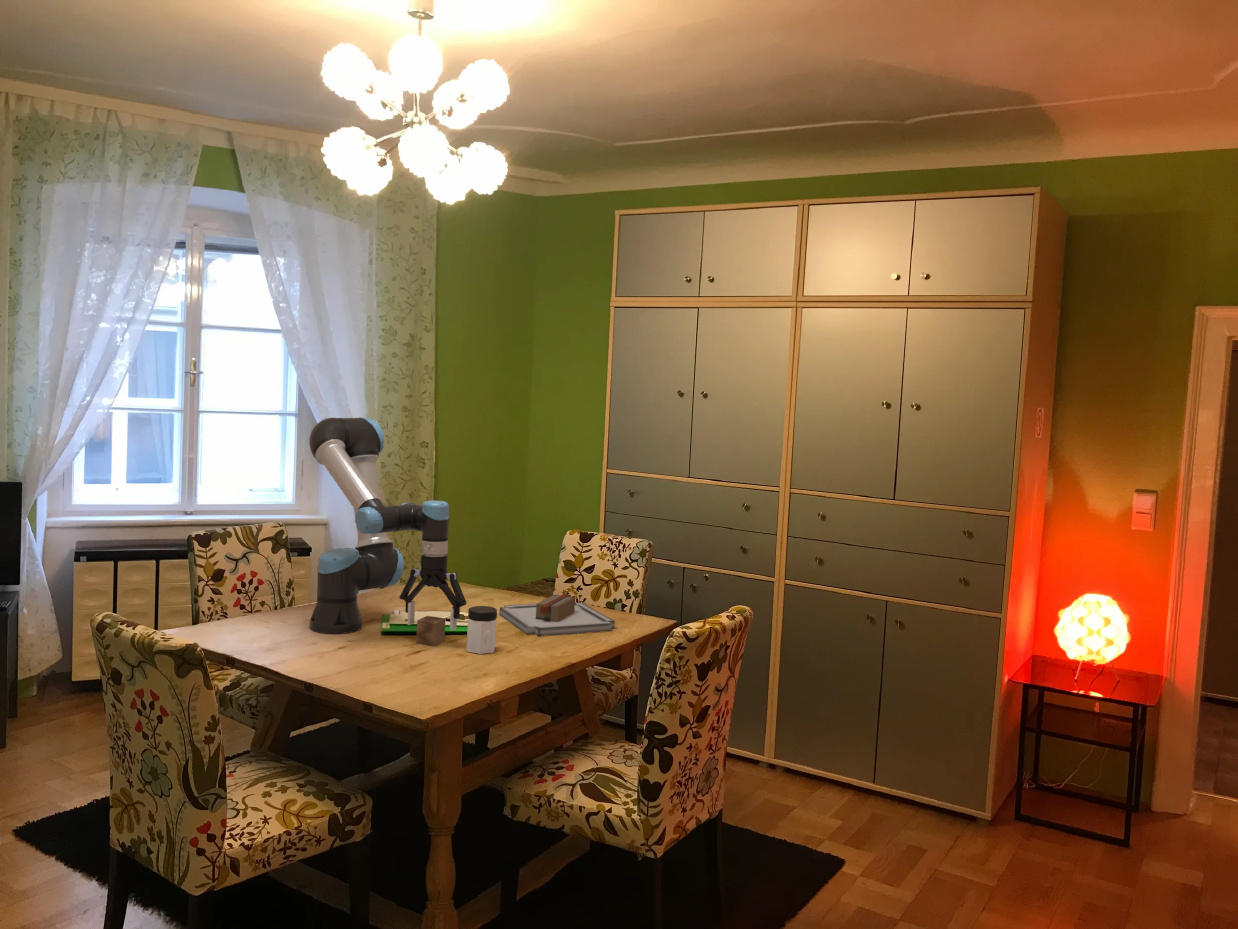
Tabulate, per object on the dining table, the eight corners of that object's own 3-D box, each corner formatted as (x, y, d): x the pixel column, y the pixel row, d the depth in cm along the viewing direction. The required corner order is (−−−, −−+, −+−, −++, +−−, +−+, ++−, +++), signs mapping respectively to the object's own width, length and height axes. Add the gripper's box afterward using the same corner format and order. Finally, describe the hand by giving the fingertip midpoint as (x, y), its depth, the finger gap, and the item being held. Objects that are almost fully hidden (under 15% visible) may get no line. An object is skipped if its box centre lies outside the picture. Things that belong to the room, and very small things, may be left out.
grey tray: (617, 632, 313) (619, 609, 312) (530, 639, 300) (531, 614, 299) (578, 610, 340) (580, 588, 339) (496, 614, 326) (497, 592, 325)
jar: (472, 655, 277) (474, 613, 276) (460, 648, 283) (462, 607, 282) (501, 652, 282) (503, 611, 281) (488, 644, 288) (490, 604, 287)
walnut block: (416, 644, 285) (417, 620, 284) (426, 639, 291) (427, 615, 290) (434, 646, 283) (436, 623, 283) (444, 641, 289) (445, 618, 288)
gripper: (389, 552, 284) (387, 624, 286) (468, 560, 278) (465, 634, 279) (402, 548, 292) (399, 619, 293) (479, 556, 285) (476, 628, 286)
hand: (431, 626), depth 286 cm, fingers open, 13 cm apart
